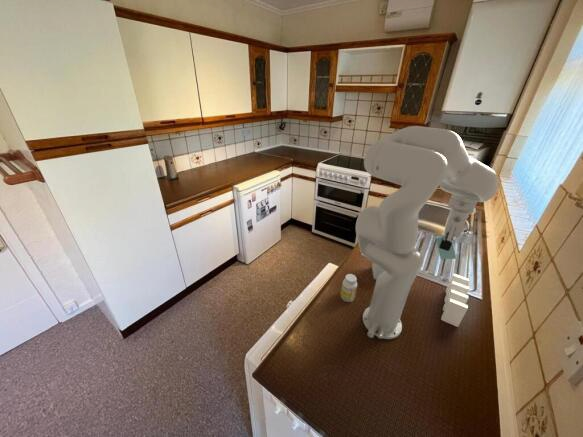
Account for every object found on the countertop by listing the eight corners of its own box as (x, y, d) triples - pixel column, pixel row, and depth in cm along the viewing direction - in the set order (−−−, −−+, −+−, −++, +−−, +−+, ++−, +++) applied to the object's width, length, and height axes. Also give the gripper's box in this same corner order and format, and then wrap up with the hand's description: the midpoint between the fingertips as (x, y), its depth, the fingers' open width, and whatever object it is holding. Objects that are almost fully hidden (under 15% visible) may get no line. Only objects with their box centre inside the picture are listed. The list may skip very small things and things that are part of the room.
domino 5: (457, 327, 80) (467, 308, 75) (440, 319, 82) (449, 301, 78) (458, 323, 81) (467, 305, 76) (441, 316, 83) (450, 298, 79)
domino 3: (459, 307, 87) (468, 289, 82) (444, 301, 89) (452, 283, 85) (459, 304, 88) (468, 286, 84) (444, 298, 90) (452, 280, 86)
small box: (387, 281, 98) (393, 261, 93) (373, 279, 99) (378, 259, 94) (384, 268, 105) (389, 249, 100) (371, 267, 106) (376, 247, 101)
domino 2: (460, 299, 90) (469, 281, 86) (445, 293, 93) (453, 275, 89) (460, 296, 92) (469, 278, 87) (445, 290, 94) (453, 273, 90)
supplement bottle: (344, 303, 88) (348, 284, 83) (337, 293, 92) (340, 274, 87) (357, 300, 89) (361, 281, 84) (350, 290, 94) (353, 271, 89)
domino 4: (458, 317, 83) (468, 298, 79) (442, 310, 86) (451, 292, 81) (459, 313, 84) (468, 295, 80) (443, 307, 87) (451, 289, 82)
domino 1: (456, 258, 88) (450, 236, 86) (440, 259, 91) (435, 238, 90) (456, 256, 89) (451, 235, 88) (441, 257, 93) (435, 236, 91)
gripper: (474, 215, 74) (454, 262, 82) (475, 199, 85) (456, 242, 94) (447, 208, 78) (430, 254, 86) (451, 194, 89) (435, 236, 97)
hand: (444, 247), depth 90 cm, fingers closed on domino 1, 1 cm apart
